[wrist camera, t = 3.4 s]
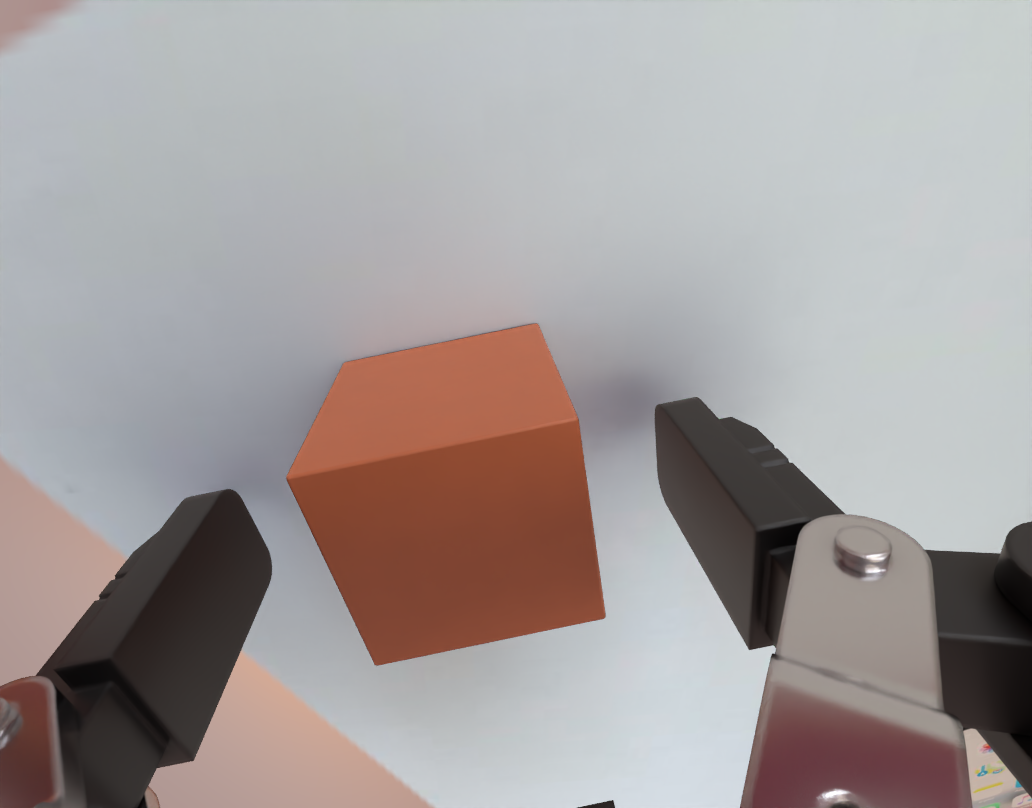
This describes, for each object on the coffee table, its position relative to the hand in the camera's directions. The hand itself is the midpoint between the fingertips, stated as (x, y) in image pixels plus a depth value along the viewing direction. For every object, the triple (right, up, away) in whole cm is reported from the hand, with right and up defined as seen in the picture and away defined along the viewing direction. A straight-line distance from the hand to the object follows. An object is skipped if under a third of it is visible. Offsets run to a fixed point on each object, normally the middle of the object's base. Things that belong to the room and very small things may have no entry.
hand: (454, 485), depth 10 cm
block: (0, +1, +1) cm, 2 cm away
